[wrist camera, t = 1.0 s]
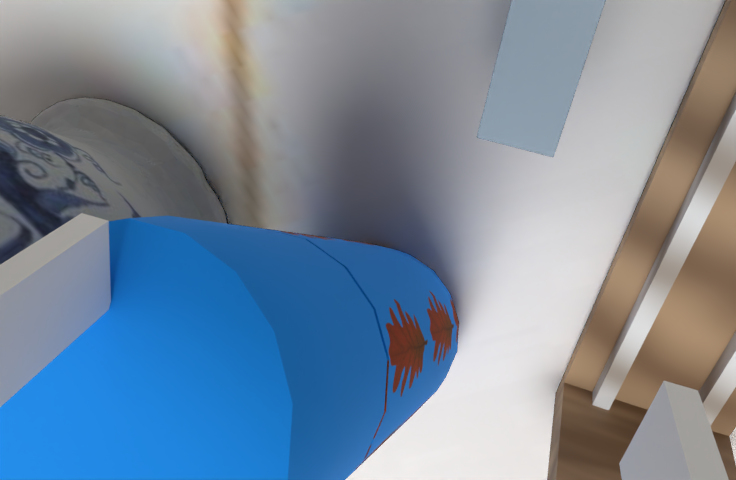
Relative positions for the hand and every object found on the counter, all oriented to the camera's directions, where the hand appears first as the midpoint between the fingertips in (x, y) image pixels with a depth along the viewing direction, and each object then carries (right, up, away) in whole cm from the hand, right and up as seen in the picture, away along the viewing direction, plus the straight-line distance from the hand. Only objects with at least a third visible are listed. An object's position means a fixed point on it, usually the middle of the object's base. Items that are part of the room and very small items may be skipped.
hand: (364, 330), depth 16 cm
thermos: (+1, -3, +25) cm, 25 cm away
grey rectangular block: (+9, +14, +14) cm, 22 cm away
